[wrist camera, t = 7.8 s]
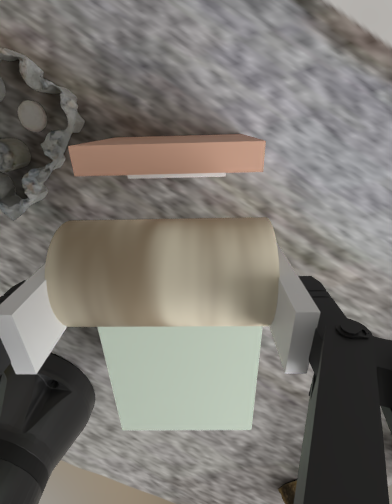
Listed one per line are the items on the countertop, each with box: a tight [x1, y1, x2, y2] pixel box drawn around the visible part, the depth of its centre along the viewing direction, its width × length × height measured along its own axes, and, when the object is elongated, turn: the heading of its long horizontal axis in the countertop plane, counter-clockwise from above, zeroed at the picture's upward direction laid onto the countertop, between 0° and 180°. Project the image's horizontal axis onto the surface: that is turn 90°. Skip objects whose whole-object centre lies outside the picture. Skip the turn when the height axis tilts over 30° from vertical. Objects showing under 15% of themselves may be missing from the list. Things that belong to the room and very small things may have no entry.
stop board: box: [68, 134, 266, 176], centre depth 18 cm, size 10×2×8 cm, turn 91°
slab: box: [98, 326, 263, 430], centre depth 23 cm, size 12×14×3 cm
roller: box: [45, 217, 280, 327], centre depth 13 cm, size 9×5×5 cm, turn 91°
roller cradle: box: [128, 173, 226, 179], centre depth 22 cm, size 7×8×4 cm
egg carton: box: [0, 48, 85, 221], centre depth 20 cm, size 11×8×4 cm
